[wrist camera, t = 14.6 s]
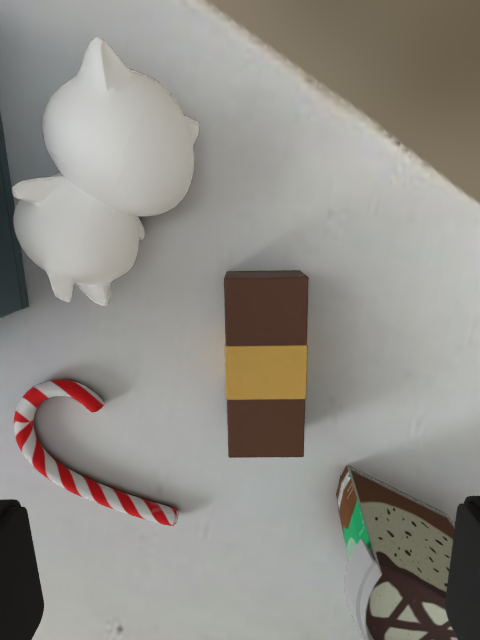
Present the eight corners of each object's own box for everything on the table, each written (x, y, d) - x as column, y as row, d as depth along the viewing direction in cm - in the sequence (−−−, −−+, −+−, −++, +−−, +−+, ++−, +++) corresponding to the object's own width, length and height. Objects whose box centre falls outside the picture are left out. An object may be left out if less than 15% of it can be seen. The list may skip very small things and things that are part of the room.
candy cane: (149, 553, 30) (-14, 441, 28) (153, 540, 32) (-3, 432, 29) (213, 488, 29) (46, 364, 27) (214, 477, 30) (55, 358, 28)
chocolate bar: (229, 430, 29) (227, 458, 26) (225, 271, 26) (223, 278, 23) (297, 429, 29) (304, 457, 26) (300, 270, 26) (309, 277, 23)
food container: (289, 516, 31) (311, 649, 21) (330, 456, 30) (372, 569, 20) (417, 577, 32) (492, 728, 23) (462, 522, 31) (561, 658, 21)
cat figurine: (18, 310, 17) (143, 47, 15) (-69, 203, 22) (14, -15, 19) (150, 320, 25) (250, 149, 22) (66, 239, 30) (140, 88, 27)
